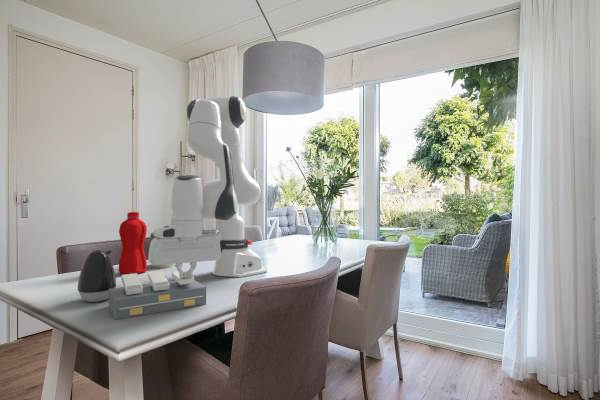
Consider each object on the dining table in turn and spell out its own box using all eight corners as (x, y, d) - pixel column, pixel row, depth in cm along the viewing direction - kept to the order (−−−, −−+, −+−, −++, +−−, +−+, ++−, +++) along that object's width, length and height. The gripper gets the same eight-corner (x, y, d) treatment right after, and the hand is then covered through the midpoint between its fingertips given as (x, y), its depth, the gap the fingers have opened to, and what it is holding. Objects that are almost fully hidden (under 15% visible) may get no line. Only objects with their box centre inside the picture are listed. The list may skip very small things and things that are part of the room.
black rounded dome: (124, 296, 111) (124, 248, 111) (98, 306, 101) (98, 253, 101) (96, 293, 113) (97, 246, 113) (68, 303, 103) (69, 251, 103)
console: (192, 293, 114) (192, 275, 114) (206, 304, 104) (206, 284, 103) (108, 306, 101) (108, 285, 101) (115, 319, 90) (115, 296, 90)
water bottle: (130, 269, 151) (130, 211, 150) (150, 271, 147) (150, 211, 146) (111, 273, 142) (112, 211, 142) (132, 276, 138) (132, 212, 138)
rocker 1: (136, 277, 103) (137, 272, 103) (142, 292, 96) (143, 287, 96) (121, 279, 101) (121, 274, 100) (126, 294, 94) (126, 289, 93)
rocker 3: (184, 275, 111) (185, 270, 111) (194, 282, 104) (194, 277, 104) (171, 277, 109) (171, 271, 109) (180, 284, 101) (180, 279, 101)
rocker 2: (161, 275, 107) (162, 270, 107) (169, 289, 100) (169, 283, 100) (147, 276, 105) (148, 271, 104) (154, 291, 98) (154, 285, 97)
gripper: (216, 229, 111) (215, 273, 111) (147, 230, 99) (146, 279, 99) (224, 230, 106) (223, 276, 106) (152, 231, 94) (151, 283, 94)
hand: (185, 278), depth 102 cm, fingers closed
